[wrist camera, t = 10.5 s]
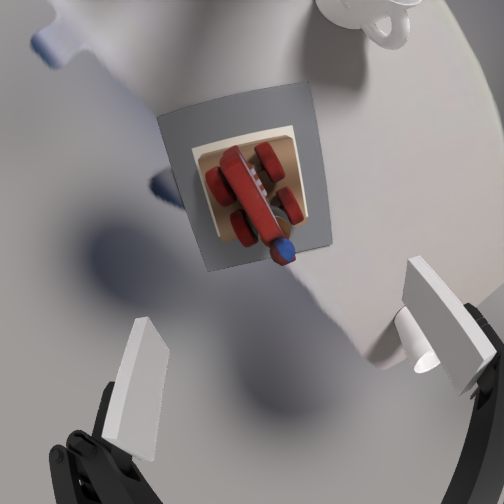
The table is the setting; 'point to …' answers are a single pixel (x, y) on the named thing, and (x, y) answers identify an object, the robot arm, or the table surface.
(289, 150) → the base block
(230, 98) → the mat
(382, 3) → the mug
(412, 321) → the cup
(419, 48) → the table surface
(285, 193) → the toy fire truck
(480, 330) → the robot arm
